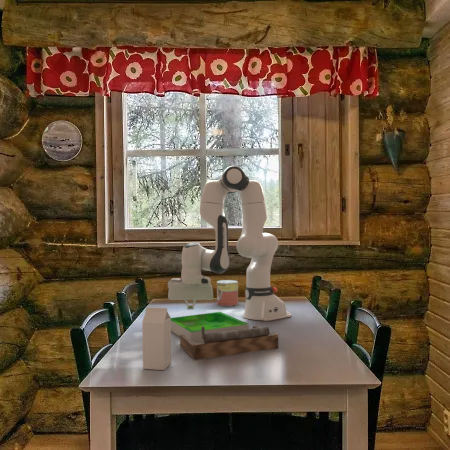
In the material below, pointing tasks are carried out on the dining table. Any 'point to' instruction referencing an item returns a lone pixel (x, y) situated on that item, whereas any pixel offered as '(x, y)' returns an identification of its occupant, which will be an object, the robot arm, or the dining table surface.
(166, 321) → the milk carton
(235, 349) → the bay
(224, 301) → the canned food
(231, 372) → the dining table surface
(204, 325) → the tray
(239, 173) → the robot arm
